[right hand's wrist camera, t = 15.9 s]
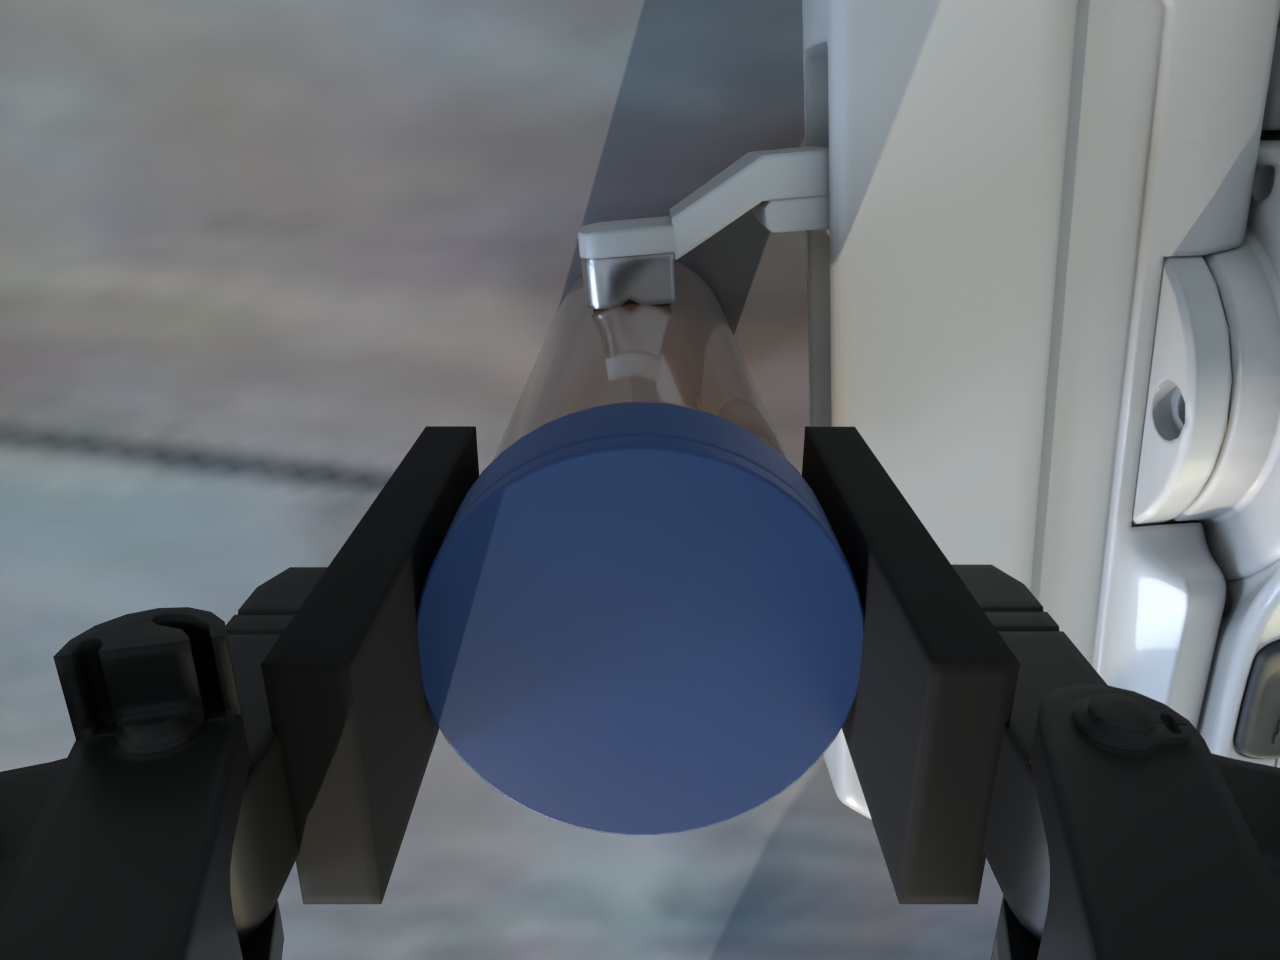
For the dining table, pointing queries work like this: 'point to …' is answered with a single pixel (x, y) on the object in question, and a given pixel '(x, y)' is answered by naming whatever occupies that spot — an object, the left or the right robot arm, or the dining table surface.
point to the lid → (640, 622)
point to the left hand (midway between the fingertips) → (598, 416)
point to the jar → (641, 362)
